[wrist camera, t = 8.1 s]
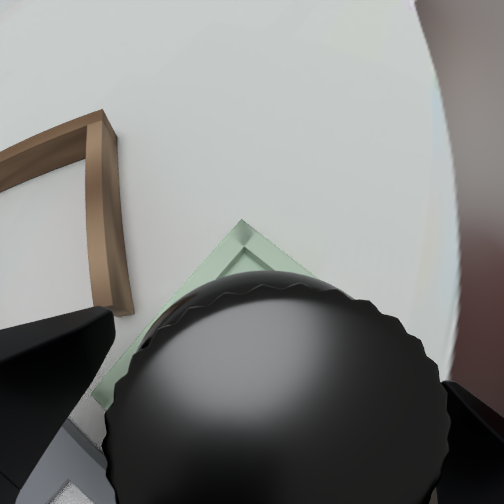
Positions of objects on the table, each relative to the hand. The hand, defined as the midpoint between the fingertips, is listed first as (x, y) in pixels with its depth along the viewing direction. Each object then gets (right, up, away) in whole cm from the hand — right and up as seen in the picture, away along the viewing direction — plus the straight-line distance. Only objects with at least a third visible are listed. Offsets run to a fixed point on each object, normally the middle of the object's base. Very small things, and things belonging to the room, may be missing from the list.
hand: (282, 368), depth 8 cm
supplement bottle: (-1, -3, +7) cm, 8 cm away
